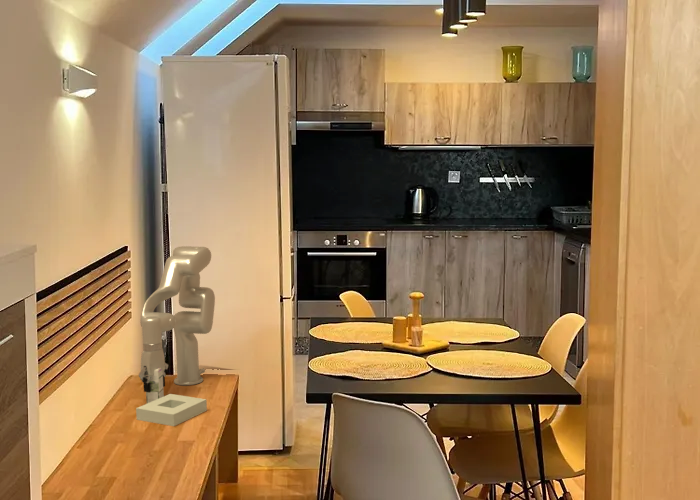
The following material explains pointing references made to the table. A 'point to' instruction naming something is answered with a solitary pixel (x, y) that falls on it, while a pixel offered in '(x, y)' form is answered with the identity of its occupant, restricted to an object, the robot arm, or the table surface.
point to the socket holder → (171, 409)
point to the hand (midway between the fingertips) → (154, 388)
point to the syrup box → (155, 386)
